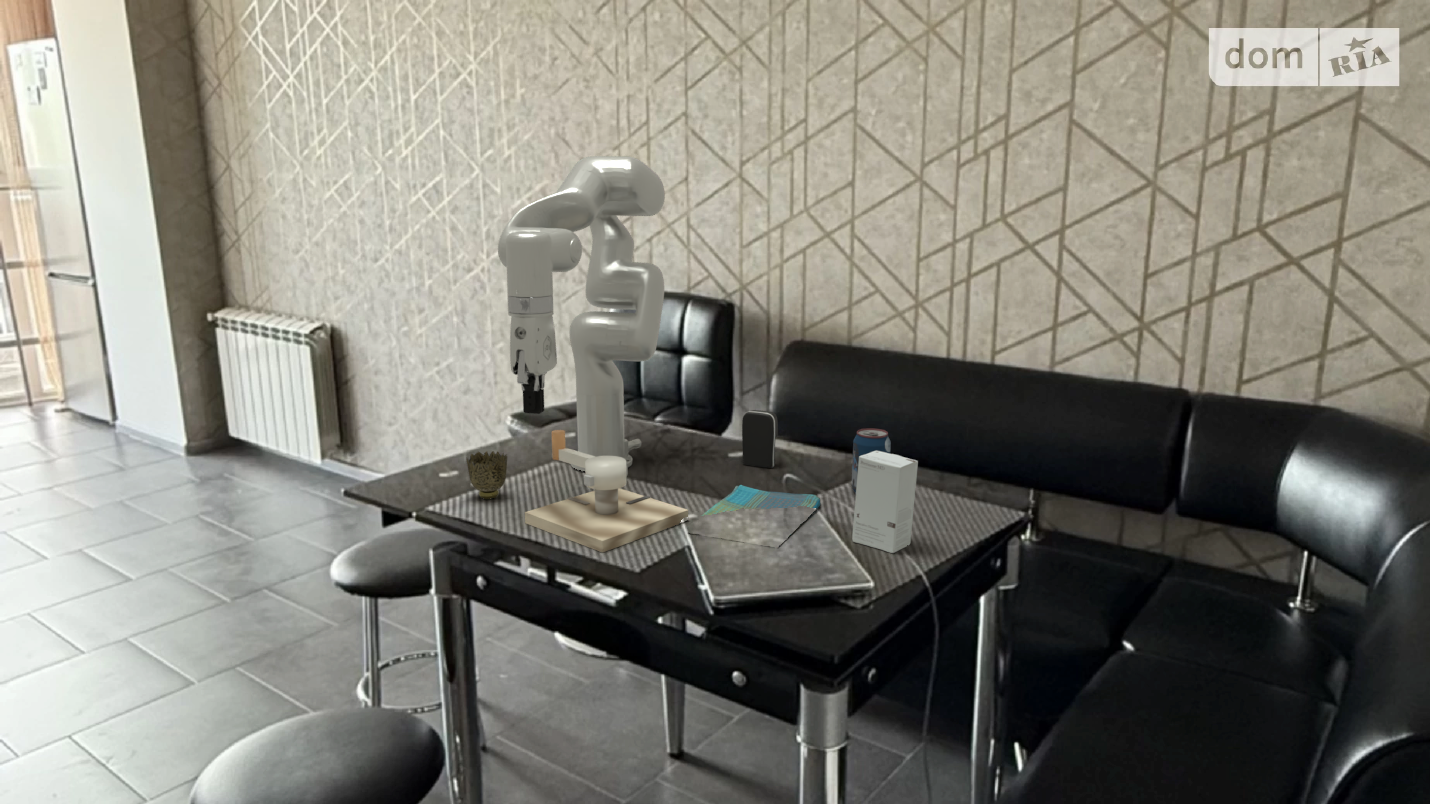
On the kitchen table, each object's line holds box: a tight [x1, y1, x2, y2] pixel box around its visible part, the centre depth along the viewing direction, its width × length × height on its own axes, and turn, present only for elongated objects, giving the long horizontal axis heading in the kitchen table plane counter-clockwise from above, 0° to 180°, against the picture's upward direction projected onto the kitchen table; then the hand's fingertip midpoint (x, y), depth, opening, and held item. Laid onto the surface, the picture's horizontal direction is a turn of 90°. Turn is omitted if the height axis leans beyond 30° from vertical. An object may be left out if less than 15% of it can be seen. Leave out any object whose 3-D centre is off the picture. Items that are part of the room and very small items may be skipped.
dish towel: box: [701, 484, 821, 516], centre depth 183 cm, size 17×23×2 cm
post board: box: [524, 488, 689, 553], centre depth 180 cm, size 20×20×7 cm
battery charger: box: [741, 409, 779, 469], centre depth 213 cm, size 7×4×11 cm, turn 66°
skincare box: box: [851, 451, 919, 554], centre depth 170 cm, size 8×6×15 cm
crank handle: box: [551, 429, 629, 490], centre depth 182 cm, size 9×17×7 cm, turn 48°
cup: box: [465, 450, 508, 500], centre depth 193 cm, size 8×7×8 cm
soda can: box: [851, 427, 892, 495], centre depth 195 cm, size 7×7×12 cm
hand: (533, 412), depth 179 cm, fingers closed
